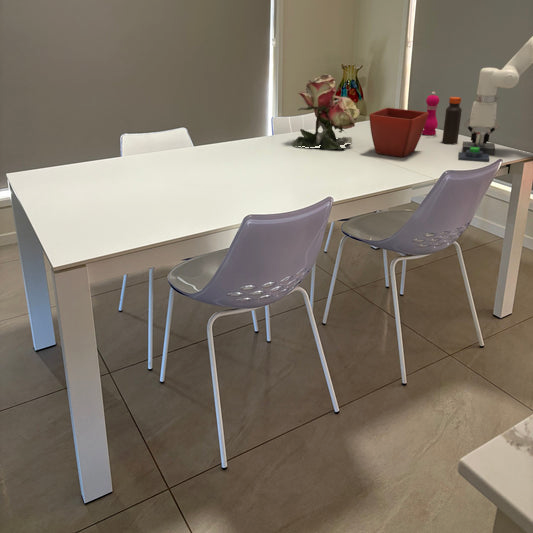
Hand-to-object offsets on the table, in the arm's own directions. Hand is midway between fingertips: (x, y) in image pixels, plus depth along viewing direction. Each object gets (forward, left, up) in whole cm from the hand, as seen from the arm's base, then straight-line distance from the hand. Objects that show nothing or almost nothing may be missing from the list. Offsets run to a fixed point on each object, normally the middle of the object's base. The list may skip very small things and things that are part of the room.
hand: (479, 142), depth 252 cm
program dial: (0, 0, -1) cm, 1 cm away
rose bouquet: (+66, +2, -4) cm, 66 cm away
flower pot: (+34, +11, -4) cm, 36 cm away
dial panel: (0, 0, -4) cm, 4 cm away
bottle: (+12, -14, -4) cm, 19 cm away
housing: (+2, +12, -4) cm, 13 cm away
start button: (+2, +12, -2) cm, 12 cm away
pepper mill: (+22, -29, -4) cm, 37 cm away
